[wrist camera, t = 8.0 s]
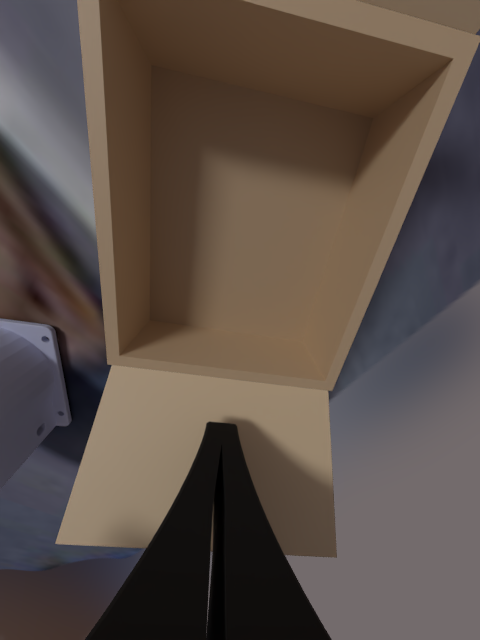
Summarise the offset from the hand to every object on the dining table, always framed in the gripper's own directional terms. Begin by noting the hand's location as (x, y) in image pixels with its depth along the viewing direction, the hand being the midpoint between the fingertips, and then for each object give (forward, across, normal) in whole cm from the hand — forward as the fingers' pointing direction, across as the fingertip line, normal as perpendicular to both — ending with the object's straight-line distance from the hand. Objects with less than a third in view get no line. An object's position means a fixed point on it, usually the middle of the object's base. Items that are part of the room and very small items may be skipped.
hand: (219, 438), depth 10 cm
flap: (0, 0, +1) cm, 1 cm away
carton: (+7, 0, -8) cm, 11 cm away
